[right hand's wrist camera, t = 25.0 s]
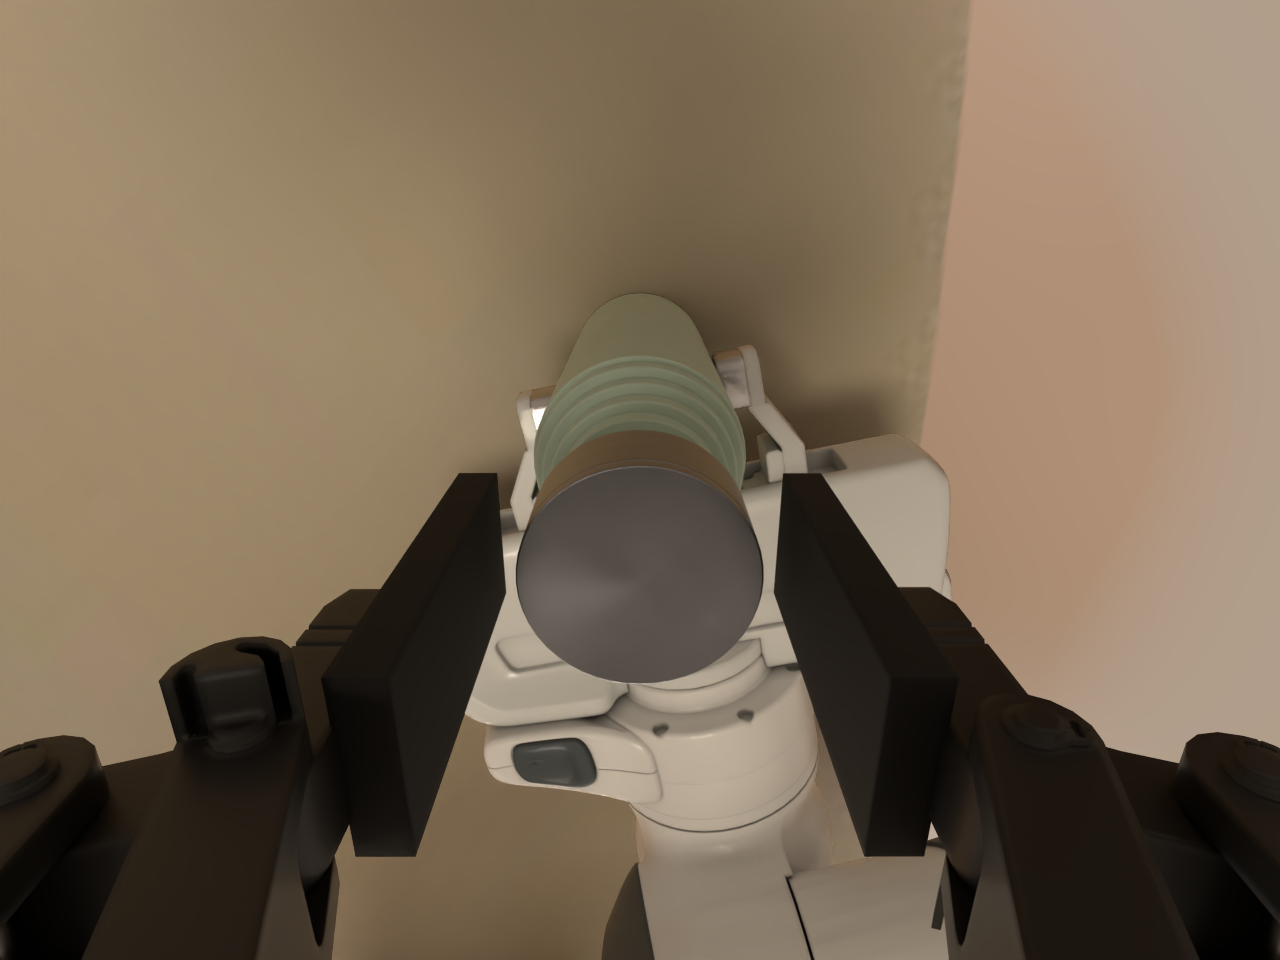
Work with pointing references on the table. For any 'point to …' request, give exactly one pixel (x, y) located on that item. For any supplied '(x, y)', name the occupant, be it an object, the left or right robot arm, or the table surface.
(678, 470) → the cap
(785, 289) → the table surface
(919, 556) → the left robot arm
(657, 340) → the bottle
